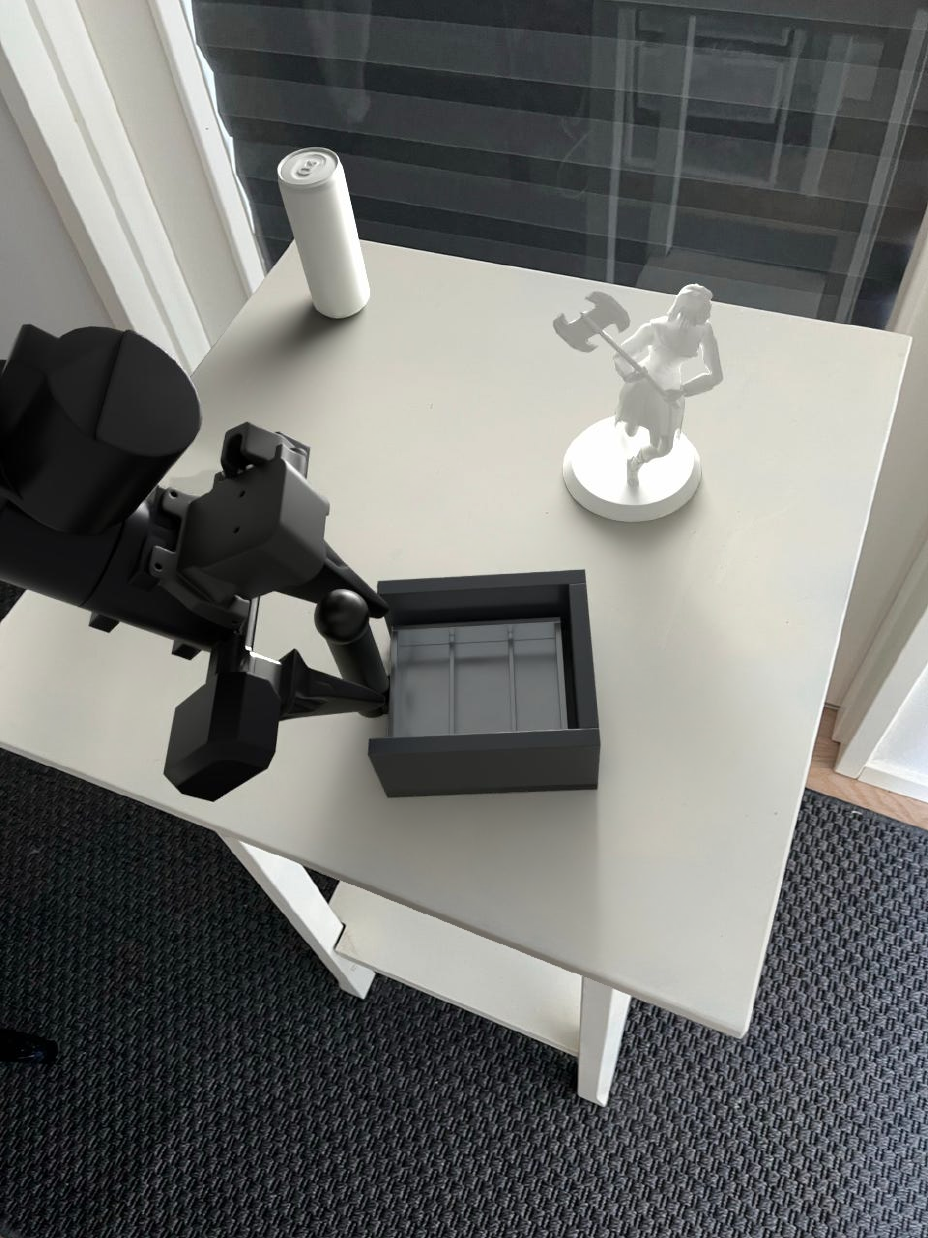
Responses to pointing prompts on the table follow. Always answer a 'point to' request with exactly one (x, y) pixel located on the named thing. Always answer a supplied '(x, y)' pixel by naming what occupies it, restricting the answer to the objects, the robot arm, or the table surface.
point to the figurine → (642, 410)
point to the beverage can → (324, 230)
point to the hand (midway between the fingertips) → (383, 657)
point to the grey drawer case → (503, 755)
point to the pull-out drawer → (452, 671)
